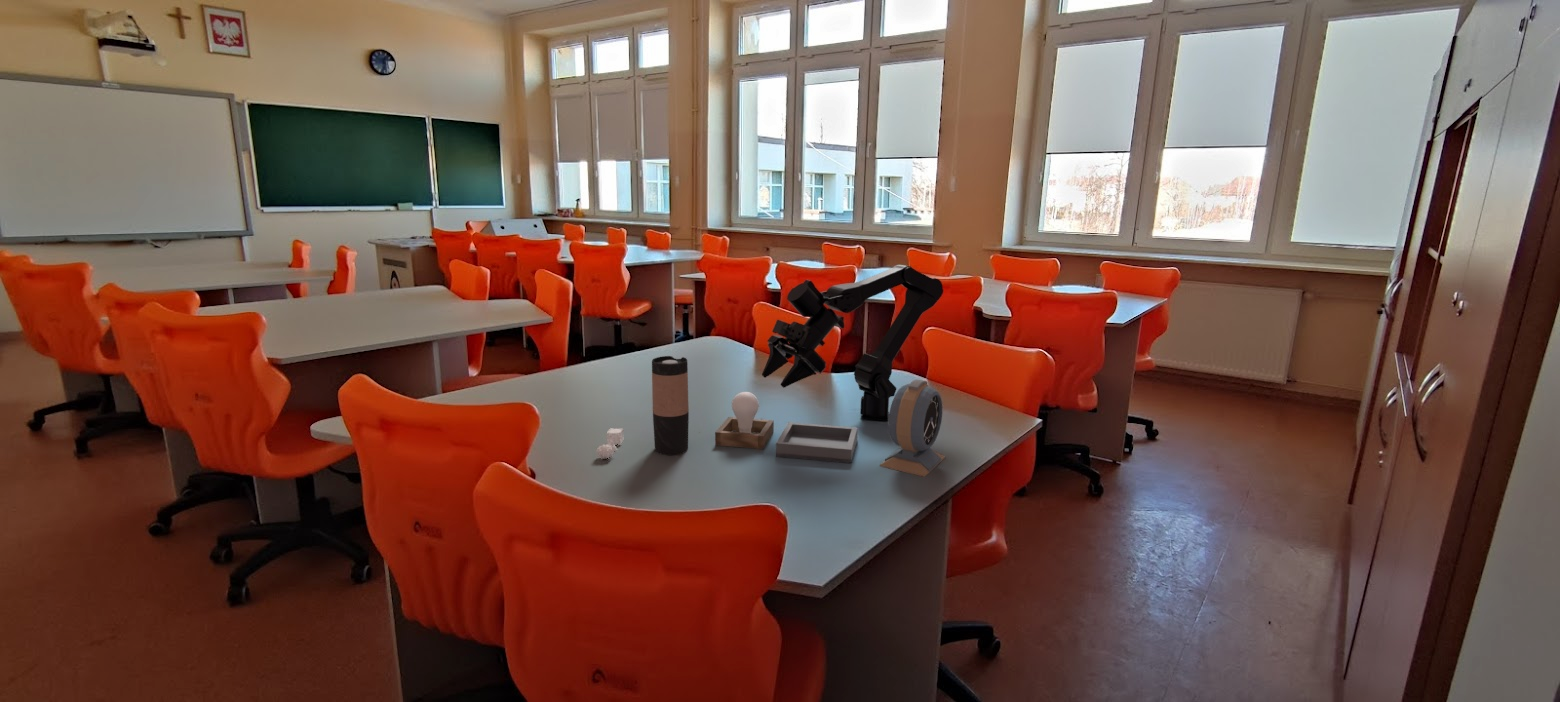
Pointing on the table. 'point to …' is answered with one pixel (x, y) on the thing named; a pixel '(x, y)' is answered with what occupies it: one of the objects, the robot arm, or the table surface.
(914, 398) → the alarm clock
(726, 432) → the socket block
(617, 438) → the game pieces
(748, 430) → the lightbulb
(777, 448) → the tray
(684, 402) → the travel mug
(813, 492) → the table surface
